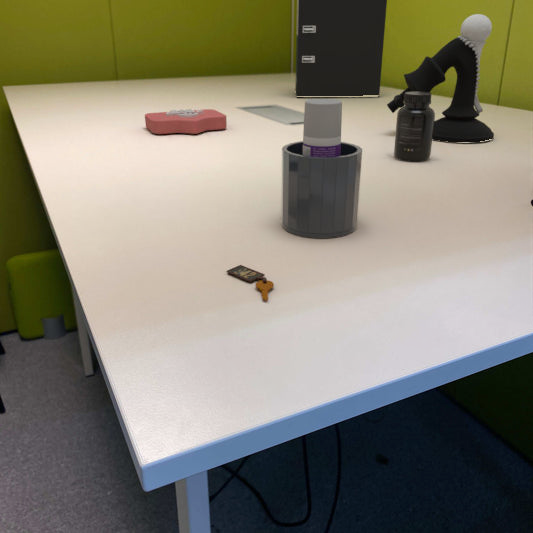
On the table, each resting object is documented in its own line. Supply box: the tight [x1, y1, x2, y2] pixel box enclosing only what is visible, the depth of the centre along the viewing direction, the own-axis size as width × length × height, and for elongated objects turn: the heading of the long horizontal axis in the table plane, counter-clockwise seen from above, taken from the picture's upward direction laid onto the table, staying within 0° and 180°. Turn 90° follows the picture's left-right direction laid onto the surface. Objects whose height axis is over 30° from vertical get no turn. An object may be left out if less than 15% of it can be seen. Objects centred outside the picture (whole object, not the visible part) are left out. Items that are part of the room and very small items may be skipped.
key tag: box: [226, 264, 275, 301], centre depth 56 cm, size 8×3×1 cm, turn 32°
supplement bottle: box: [393, 91, 436, 163], centre depth 102 cm, size 7×7×12 cm
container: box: [302, 98, 343, 157], centre depth 69 cm, size 5×5×15 cm
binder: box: [294, 0, 388, 97], centre depth 179 cm, size 27×15×32 cm, turn 89°
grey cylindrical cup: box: [280, 140, 363, 239], centre depth 70 cm, size 10×10×10 cm
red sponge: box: [144, 108, 228, 135], centre depth 131 cm, size 18×4×15 cm
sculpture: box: [386, 13, 495, 143], centre depth 118 cm, size 15×24×25 cm, turn 82°
